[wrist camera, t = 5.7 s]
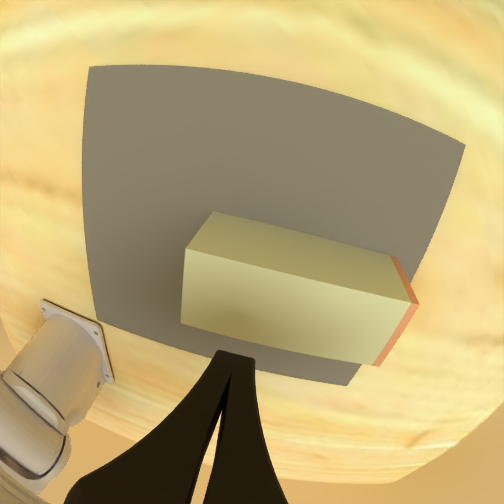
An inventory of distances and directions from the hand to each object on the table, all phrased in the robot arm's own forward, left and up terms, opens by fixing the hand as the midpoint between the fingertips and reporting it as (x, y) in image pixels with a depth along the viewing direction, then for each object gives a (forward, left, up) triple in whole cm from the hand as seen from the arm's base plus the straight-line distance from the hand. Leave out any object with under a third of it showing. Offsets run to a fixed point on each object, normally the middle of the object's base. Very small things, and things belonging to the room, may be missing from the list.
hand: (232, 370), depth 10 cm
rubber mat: (0, +2, -9) cm, 9 cm away
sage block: (0, +3, -6) cm, 7 cm away
